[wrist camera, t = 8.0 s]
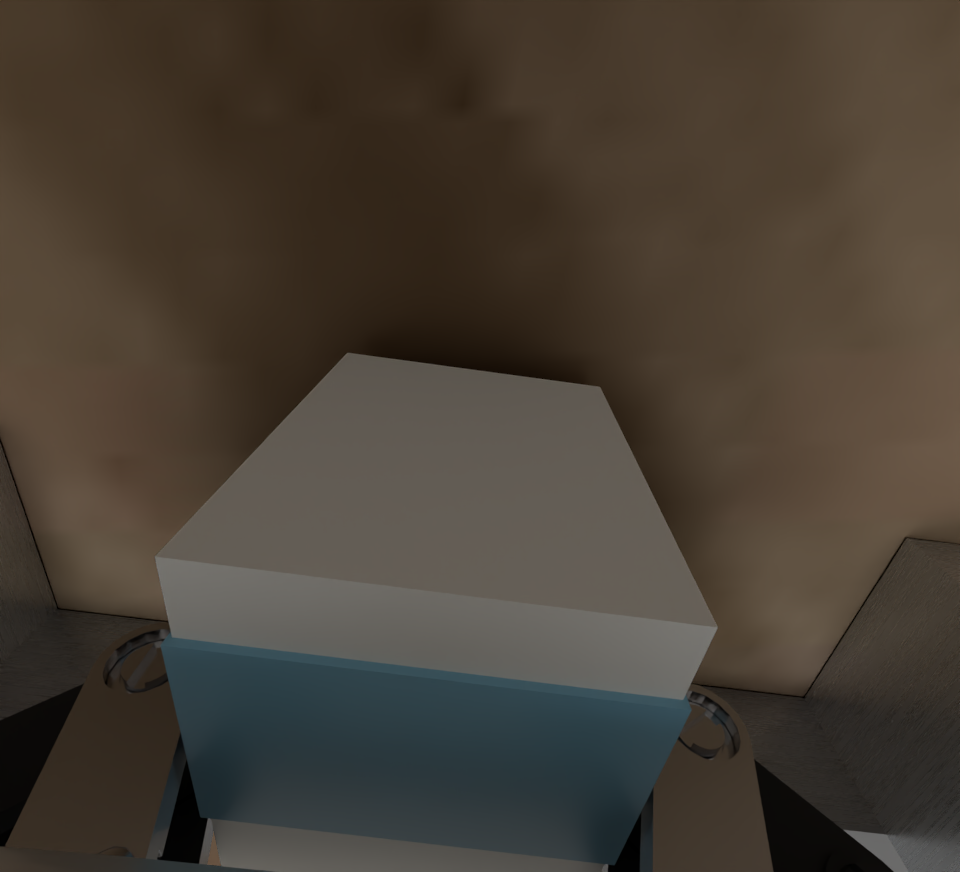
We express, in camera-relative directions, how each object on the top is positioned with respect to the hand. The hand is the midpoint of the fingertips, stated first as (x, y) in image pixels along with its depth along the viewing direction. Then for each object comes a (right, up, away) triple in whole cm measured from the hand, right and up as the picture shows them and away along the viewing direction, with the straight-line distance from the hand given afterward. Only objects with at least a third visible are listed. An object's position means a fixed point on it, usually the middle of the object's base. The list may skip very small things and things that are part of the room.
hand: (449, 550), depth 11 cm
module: (0, 0, +1) cm, 1 cm away
